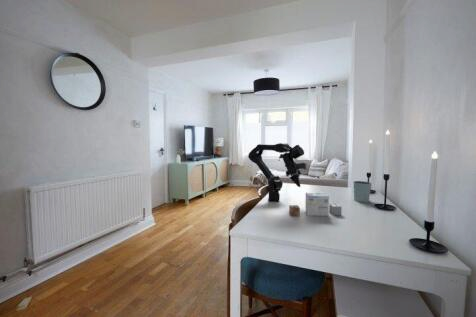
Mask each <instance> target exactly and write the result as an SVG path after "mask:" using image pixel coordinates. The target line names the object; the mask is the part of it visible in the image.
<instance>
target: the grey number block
mask: <svg viewBox="0 0 476 317" xmlns="http://www.w3.org/2000/svg"><path fill="white" fill-rule="evenodd" d="M329 214H330V215H332V216H342V206H341V205H340V204H339V203H337V204H336V203H335V204H334V203H329Z"/></svg>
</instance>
